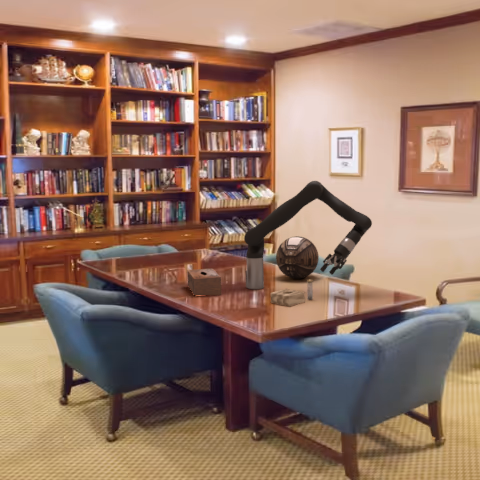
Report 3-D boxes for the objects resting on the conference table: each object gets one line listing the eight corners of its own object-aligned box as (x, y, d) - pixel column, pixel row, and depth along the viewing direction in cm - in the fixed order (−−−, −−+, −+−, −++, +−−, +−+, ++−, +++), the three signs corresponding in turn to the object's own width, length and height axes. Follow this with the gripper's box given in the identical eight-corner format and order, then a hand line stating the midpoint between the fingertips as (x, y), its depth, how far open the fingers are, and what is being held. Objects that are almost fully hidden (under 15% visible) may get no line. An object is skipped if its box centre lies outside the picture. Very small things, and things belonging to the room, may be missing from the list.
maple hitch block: (270, 302, 301) (270, 292, 300) (286, 298, 309) (286, 288, 309) (289, 306, 292) (289, 296, 292) (304, 301, 301) (304, 292, 300)
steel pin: (305, 299, 306) (305, 280, 305) (309, 298, 308) (309, 279, 307) (310, 300, 304) (310, 280, 302) (314, 299, 306) (314, 279, 305)
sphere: (324, 275, 365) (323, 234, 361) (311, 283, 342) (310, 240, 339) (285, 273, 375) (284, 233, 372) (270, 281, 353) (269, 238, 349)
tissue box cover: (221, 295, 320) (221, 277, 319) (194, 297, 317) (193, 278, 316) (213, 285, 345) (212, 268, 344) (187, 287, 342) (187, 270, 341)
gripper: (332, 241, 316) (314, 265, 313) (348, 245, 303) (329, 270, 300) (341, 251, 319) (323, 274, 316) (357, 254, 306) (338, 279, 303)
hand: (326, 272), depth 308 cm, fingers open, 8 cm apart
